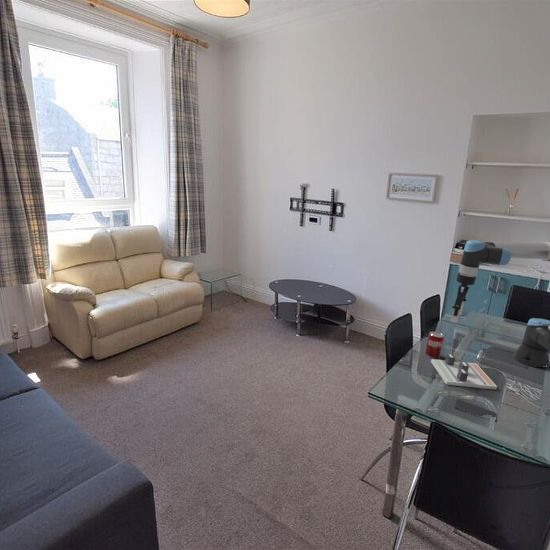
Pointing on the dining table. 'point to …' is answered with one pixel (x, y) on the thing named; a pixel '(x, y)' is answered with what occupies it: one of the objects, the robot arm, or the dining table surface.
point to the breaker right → (462, 375)
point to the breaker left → (450, 359)
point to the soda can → (434, 344)
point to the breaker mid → (463, 366)
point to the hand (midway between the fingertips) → (455, 317)
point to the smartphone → (472, 408)
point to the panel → (473, 380)
